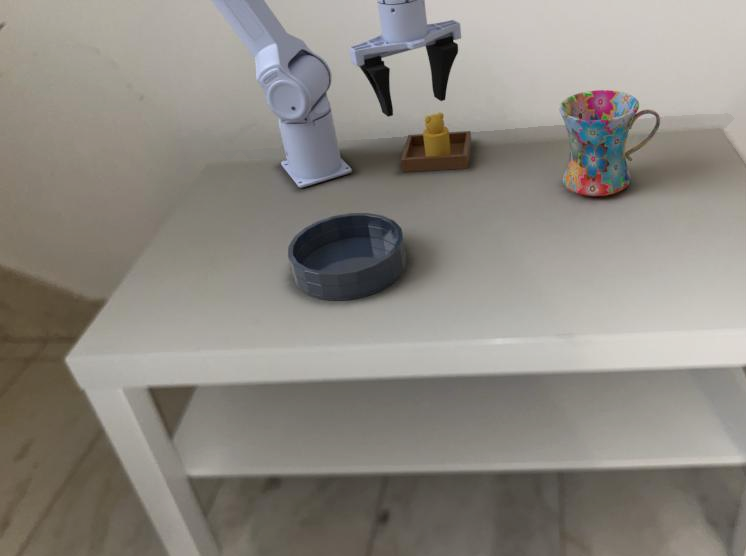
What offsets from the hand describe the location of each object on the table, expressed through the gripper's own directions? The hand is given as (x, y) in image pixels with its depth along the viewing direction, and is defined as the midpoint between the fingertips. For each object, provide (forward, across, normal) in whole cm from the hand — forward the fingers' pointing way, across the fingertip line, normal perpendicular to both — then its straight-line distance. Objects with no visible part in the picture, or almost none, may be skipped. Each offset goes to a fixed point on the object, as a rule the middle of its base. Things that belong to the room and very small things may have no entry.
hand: (414, 106), depth 101 cm
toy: (+9, +4, +2) cm, 10 cm away
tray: (+9, +4, +2) cm, 10 cm away
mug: (+10, +18, -19) cm, 27 cm away
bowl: (+9, -18, -17) cm, 26 cm away
